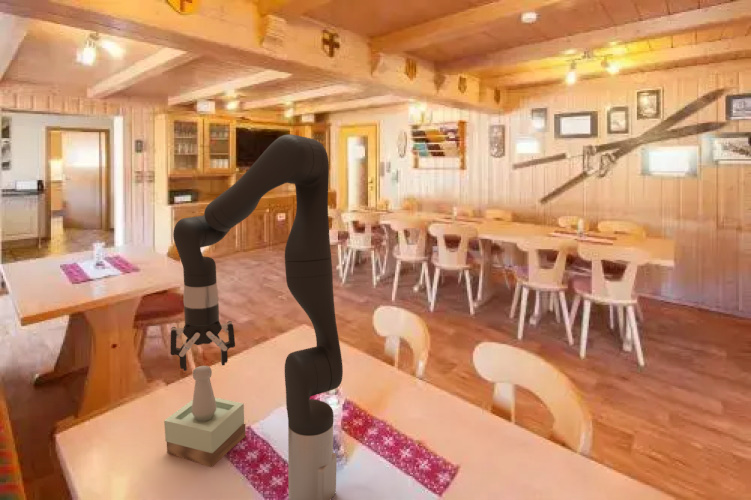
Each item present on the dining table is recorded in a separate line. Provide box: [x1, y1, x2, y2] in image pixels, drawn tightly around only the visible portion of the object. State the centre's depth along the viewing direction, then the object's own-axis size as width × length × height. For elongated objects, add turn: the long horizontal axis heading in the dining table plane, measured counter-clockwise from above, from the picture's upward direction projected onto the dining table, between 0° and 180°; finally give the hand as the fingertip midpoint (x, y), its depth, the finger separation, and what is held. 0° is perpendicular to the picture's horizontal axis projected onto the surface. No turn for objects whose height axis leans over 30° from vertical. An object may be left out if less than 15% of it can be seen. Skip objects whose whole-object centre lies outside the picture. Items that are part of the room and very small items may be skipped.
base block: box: [166, 423, 247, 468], centre depth 115 cm, size 13×13×4 cm
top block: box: [163, 396, 245, 453], centre depth 114 cm, size 13×13×6 cm
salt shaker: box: [191, 365, 217, 422], centre depth 112 cm, size 6×6×13 cm
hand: (204, 366), depth 111 cm, fingers open, 8 cm apart
